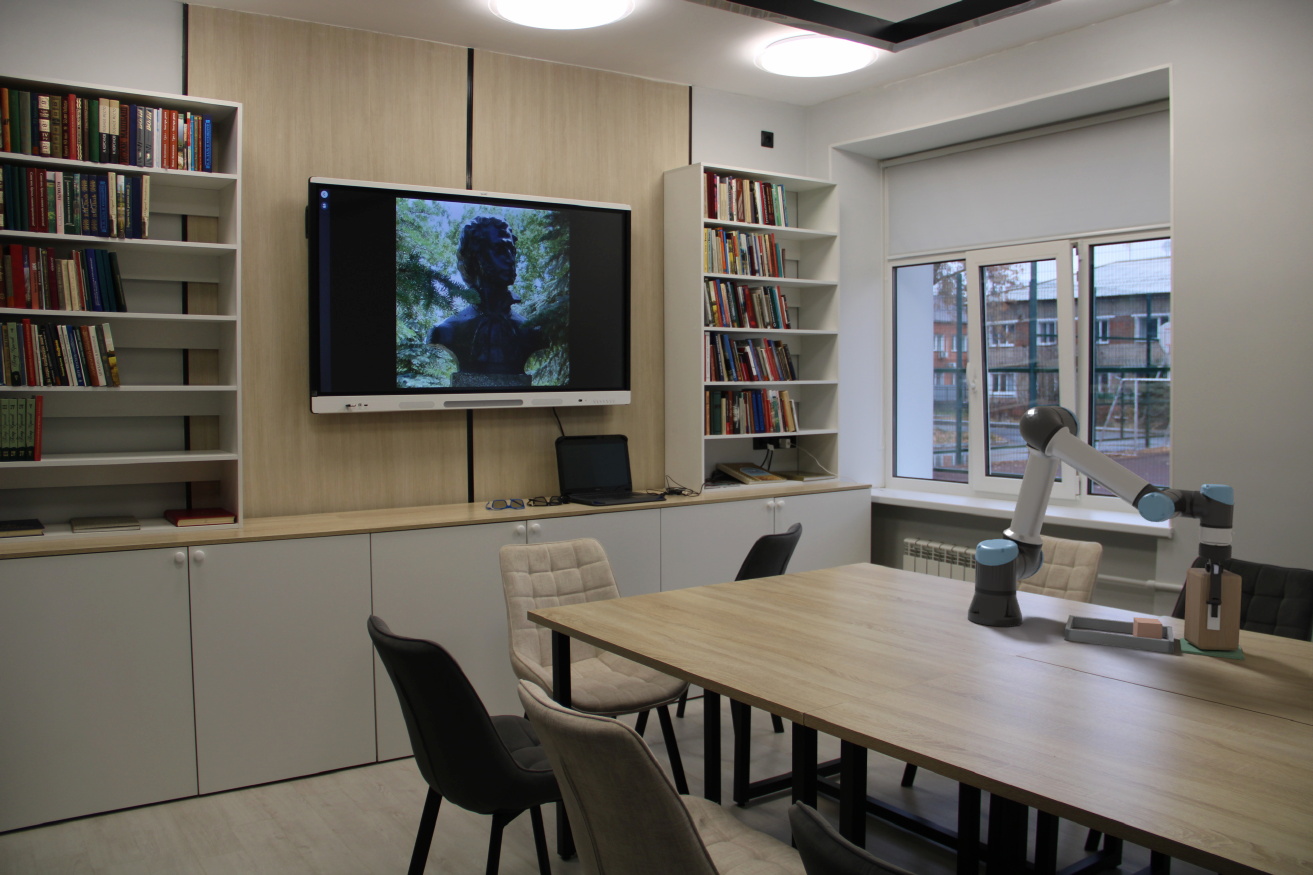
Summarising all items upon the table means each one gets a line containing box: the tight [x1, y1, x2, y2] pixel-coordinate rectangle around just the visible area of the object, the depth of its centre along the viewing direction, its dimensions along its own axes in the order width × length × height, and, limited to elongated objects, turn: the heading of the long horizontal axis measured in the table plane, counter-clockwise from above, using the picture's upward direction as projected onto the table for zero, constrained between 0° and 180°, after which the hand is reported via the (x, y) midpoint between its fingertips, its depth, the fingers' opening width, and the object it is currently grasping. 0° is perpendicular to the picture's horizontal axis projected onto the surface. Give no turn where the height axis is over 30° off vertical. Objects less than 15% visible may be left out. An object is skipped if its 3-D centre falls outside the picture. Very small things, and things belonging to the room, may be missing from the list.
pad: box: [1179, 637, 1245, 661], centre depth 249 cm, size 14×14×1 cm
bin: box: [1063, 614, 1175, 654], centre depth 259 cm, size 26×18×3 cm
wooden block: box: [1183, 567, 1243, 651], centre depth 248 cm, size 10×10×20 cm
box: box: [1132, 616, 1163, 640], centre depth 255 cm, size 6×6×6 cm
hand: (1211, 624), depth 248 cm, fingers closed on wooden block, 12 cm apart
